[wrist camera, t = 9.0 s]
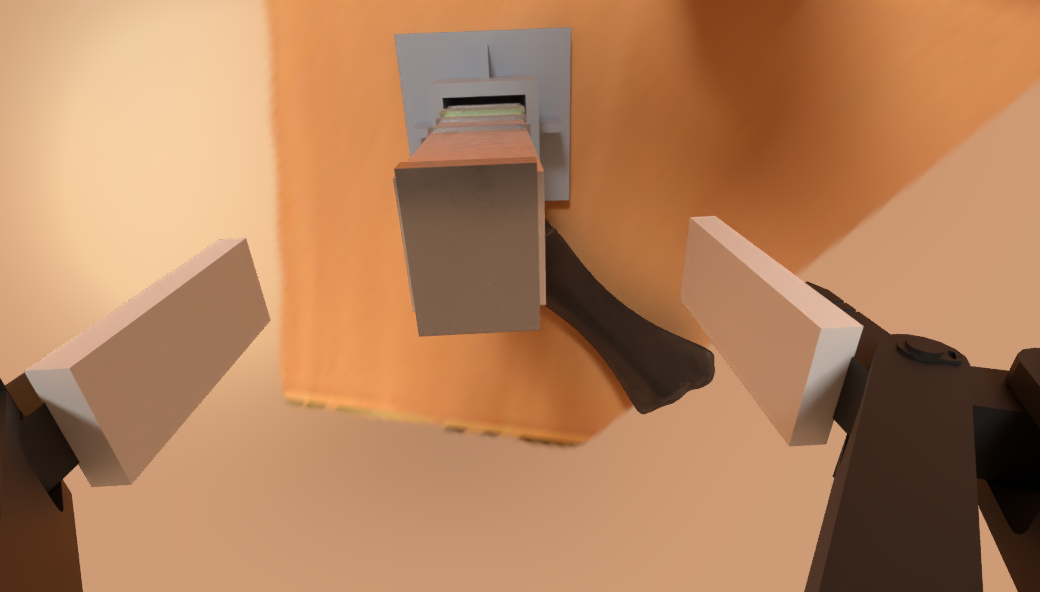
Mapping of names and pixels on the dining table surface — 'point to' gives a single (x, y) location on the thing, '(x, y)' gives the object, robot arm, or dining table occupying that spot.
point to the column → (474, 223)
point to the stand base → (493, 86)
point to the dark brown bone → (623, 333)
